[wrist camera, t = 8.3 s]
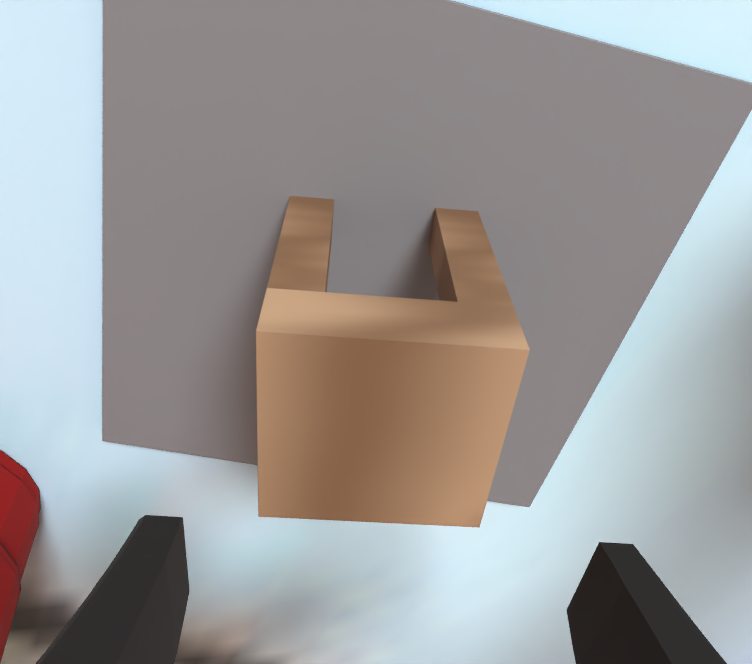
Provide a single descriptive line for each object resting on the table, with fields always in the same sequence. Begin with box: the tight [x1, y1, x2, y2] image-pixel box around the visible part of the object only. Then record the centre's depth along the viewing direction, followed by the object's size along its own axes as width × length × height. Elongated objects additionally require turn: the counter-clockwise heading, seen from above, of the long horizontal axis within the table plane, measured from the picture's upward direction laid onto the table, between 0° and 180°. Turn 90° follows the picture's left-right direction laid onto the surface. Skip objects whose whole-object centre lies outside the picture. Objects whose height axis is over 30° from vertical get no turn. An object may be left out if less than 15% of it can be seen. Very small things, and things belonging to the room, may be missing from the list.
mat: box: [102, 0, 752, 507], centre depth 19 cm, size 16×16×1 cm
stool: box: [256, 196, 530, 527], centre depth 16 cm, size 5×5×7 cm
